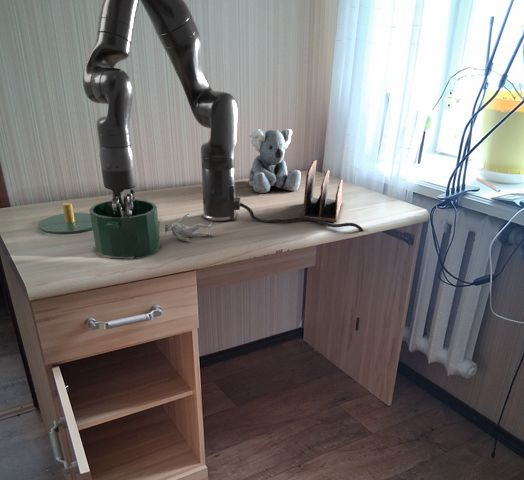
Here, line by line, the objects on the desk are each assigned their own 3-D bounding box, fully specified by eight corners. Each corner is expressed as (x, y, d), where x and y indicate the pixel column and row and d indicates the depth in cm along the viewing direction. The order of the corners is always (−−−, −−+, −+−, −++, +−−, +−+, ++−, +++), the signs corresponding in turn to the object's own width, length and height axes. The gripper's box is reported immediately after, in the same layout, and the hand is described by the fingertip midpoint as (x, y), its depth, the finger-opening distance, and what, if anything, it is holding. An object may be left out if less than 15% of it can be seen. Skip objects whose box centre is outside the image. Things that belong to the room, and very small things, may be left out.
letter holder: (302, 220, 149) (305, 170, 142) (310, 201, 166) (313, 156, 158) (336, 222, 147) (341, 172, 140) (341, 203, 164) (345, 158, 156)
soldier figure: (212, 244, 134) (168, 235, 128) (205, 251, 138) (162, 243, 132) (212, 217, 136) (169, 207, 130) (205, 225, 140) (163, 216, 134)
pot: (167, 234, 137) (164, 197, 131) (149, 264, 119) (145, 222, 114) (110, 232, 137) (104, 195, 132) (83, 262, 119) (76, 220, 114)
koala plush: (256, 195, 171) (256, 132, 160) (238, 182, 185) (238, 124, 175) (302, 191, 176) (306, 130, 166) (282, 179, 190) (284, 122, 180)
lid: (109, 217, 148) (106, 196, 145) (91, 237, 134) (87, 213, 131) (53, 216, 148) (48, 194, 145) (28, 235, 134) (23, 212, 131)
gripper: (125, 173, 111) (135, 248, 121) (141, 159, 124) (148, 228, 133) (91, 172, 112) (103, 247, 121) (110, 159, 124) (120, 227, 133)
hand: (127, 237), depth 127 cm, fingers closed on rook chess piece, 4 cm apart
